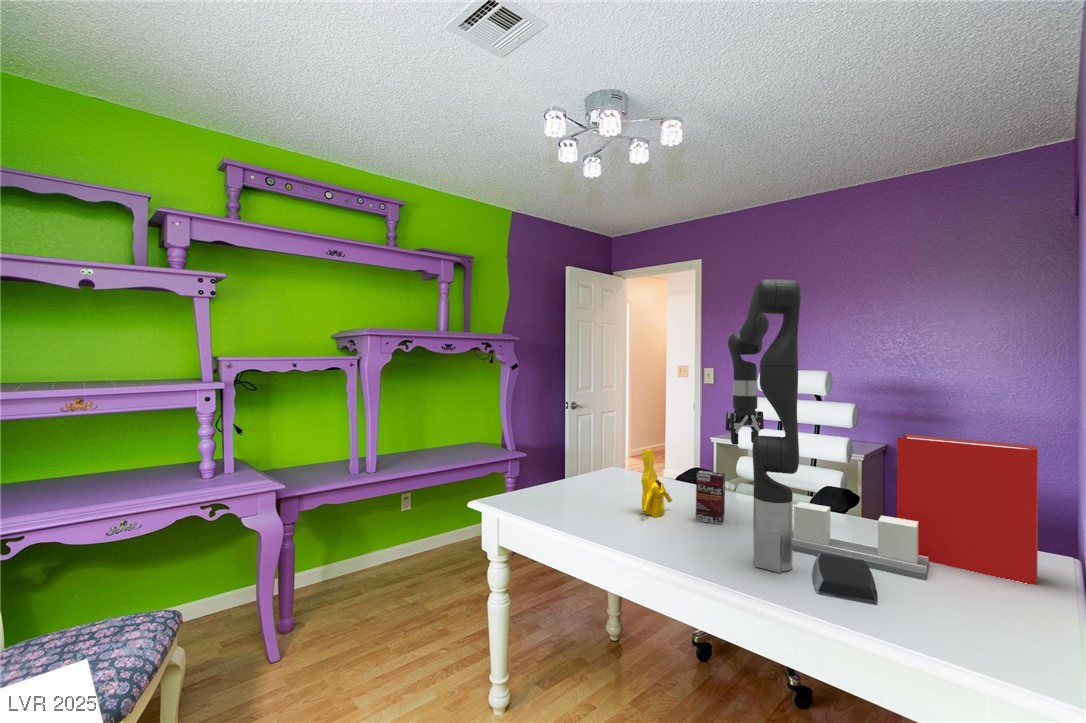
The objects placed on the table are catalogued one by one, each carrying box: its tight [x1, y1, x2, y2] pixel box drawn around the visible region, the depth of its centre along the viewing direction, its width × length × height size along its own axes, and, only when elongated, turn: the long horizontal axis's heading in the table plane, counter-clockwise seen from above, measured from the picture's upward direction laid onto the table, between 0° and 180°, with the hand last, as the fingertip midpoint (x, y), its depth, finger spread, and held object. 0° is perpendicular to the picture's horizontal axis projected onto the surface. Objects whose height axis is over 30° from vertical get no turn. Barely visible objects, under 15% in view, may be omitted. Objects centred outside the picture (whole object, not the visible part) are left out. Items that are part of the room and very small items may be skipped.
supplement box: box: [695, 470, 726, 525], centre depth 166 cm, size 9×5×16 cm, turn 62°
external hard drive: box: [811, 553, 878, 606], centre depth 121 cm, size 13×19×4 cm
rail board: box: [792, 501, 930, 581], centre depth 137 cm, size 12×32×12 cm, turn 50°
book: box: [896, 433, 1039, 585], centre depth 131 cm, size 27×8×32 cm, turn 44°
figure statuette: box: [641, 448, 673, 518], centre depth 174 cm, size 18×8×22 cm, turn 136°
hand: (744, 443), depth 166 cm, fingers open, 8 cm apart
